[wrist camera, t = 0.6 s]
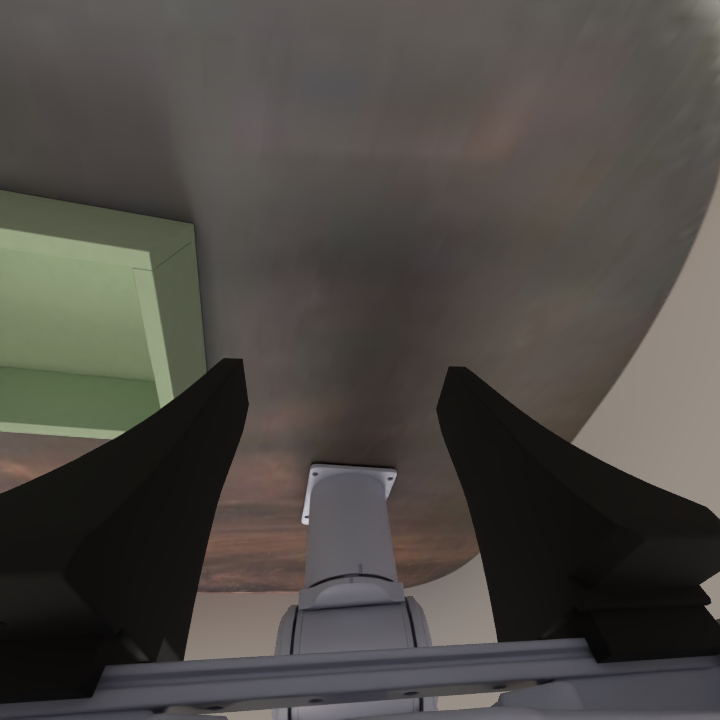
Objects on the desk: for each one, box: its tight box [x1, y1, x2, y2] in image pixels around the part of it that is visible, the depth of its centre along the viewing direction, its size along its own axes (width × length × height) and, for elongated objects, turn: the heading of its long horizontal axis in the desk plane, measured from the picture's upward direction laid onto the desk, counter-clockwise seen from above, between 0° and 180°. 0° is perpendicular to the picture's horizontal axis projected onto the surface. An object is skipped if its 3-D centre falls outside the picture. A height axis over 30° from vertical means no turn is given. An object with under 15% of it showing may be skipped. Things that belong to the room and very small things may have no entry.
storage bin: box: [0, 190, 207, 439], centre depth 17 cm, size 12×18×5 cm, turn 79°
